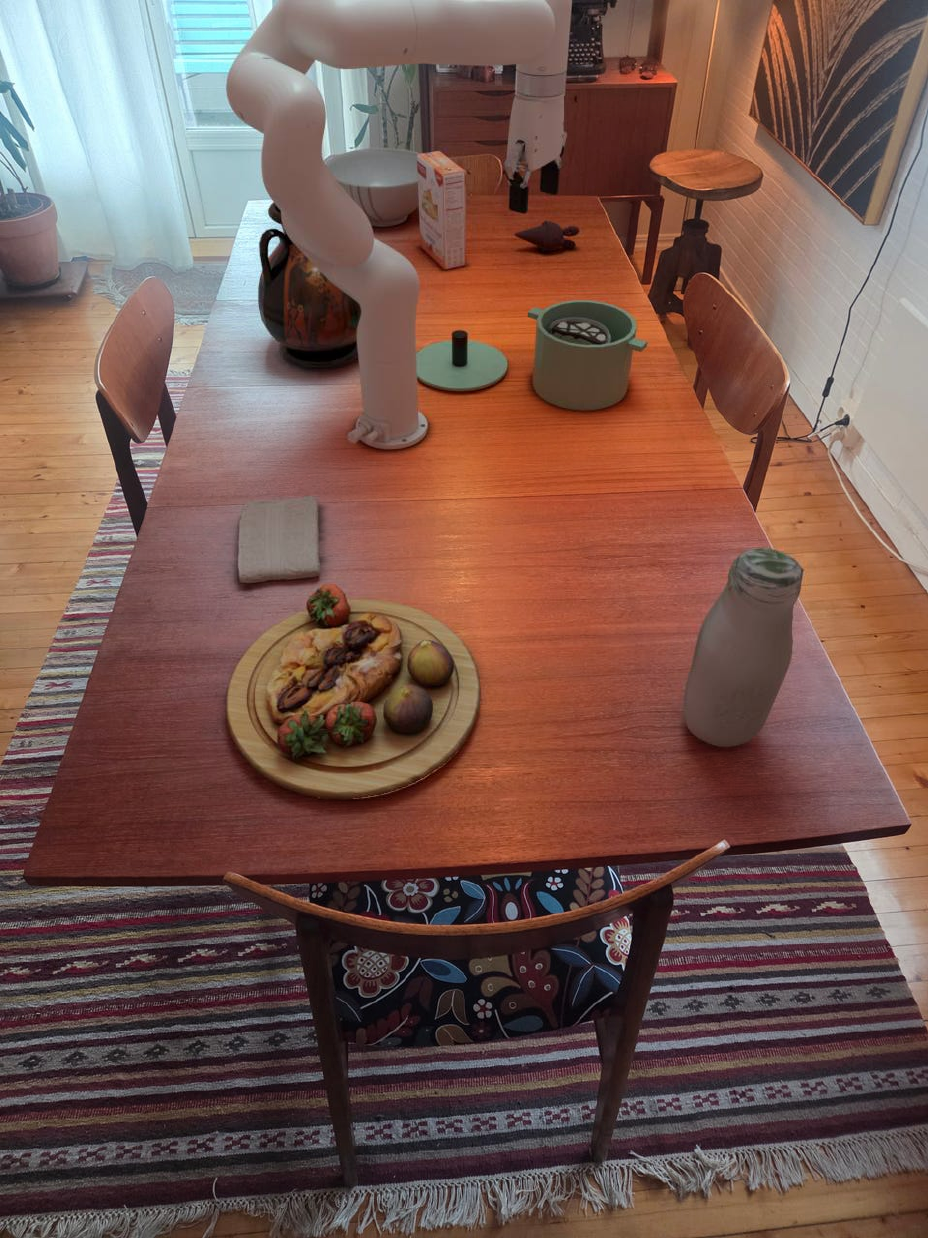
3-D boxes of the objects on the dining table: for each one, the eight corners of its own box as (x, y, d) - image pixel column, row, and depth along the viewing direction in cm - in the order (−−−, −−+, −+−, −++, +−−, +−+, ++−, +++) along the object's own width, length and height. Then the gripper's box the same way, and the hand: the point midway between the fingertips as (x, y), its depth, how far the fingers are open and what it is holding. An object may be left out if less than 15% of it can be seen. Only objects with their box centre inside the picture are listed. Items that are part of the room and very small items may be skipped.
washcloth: (319, 504, 140) (317, 488, 137) (323, 580, 127) (321, 564, 125) (243, 511, 138) (239, 495, 136) (240, 589, 126) (236, 573, 124)
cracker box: (418, 247, 209) (415, 152, 194) (441, 243, 211) (440, 149, 196) (442, 271, 200) (441, 173, 185) (466, 266, 202) (467, 169, 187)
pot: (612, 425, 156) (622, 361, 147) (503, 387, 165) (505, 324, 156) (655, 382, 166) (666, 320, 157) (550, 348, 175) (555, 287, 166)
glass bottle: (744, 696, 112) (806, 526, 92) (766, 762, 105) (838, 593, 85) (667, 698, 112) (713, 527, 92) (684, 764, 105) (737, 595, 85)
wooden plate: (242, 614, 122) (231, 570, 116) (470, 604, 124) (471, 560, 118) (212, 813, 100) (196, 771, 94) (491, 797, 101) (493, 754, 96)
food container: (617, 376, 167) (624, 327, 160) (602, 391, 163) (609, 341, 156) (559, 358, 171) (564, 309, 164) (544, 372, 168) (548, 323, 161)
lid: (473, 404, 161) (473, 368, 155) (392, 374, 168) (390, 339, 163) (525, 362, 171) (527, 327, 166) (447, 336, 178) (447, 302, 173)
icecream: (518, 231, 200) (582, 235, 202) (515, 210, 204) (579, 214, 206) (513, 257, 206) (576, 261, 208) (511, 236, 210) (572, 240, 211)
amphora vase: (343, 316, 184) (329, 174, 164) (397, 359, 172) (389, 211, 152) (248, 344, 176) (222, 198, 156) (297, 392, 163) (275, 240, 143)
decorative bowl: (339, 243, 210) (334, 190, 202) (321, 202, 228) (316, 152, 220) (447, 232, 215) (447, 180, 207) (422, 192, 233) (420, 143, 225)
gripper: (547, 66, 138) (540, 181, 151) (488, 92, 128) (485, 213, 140) (590, 74, 135) (579, 190, 148) (532, 101, 125) (525, 224, 138)
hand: (533, 201), depth 144 cm, fingers open, 9 cm apart
